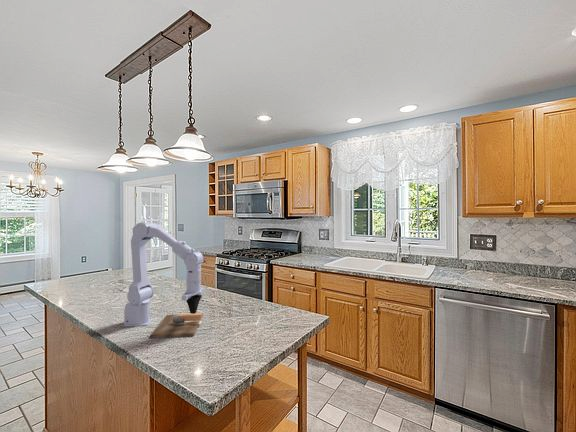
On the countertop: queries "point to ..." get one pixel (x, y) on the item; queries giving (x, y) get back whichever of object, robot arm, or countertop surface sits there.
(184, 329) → the lock board
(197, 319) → the orange bar
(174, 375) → the countertop surface
